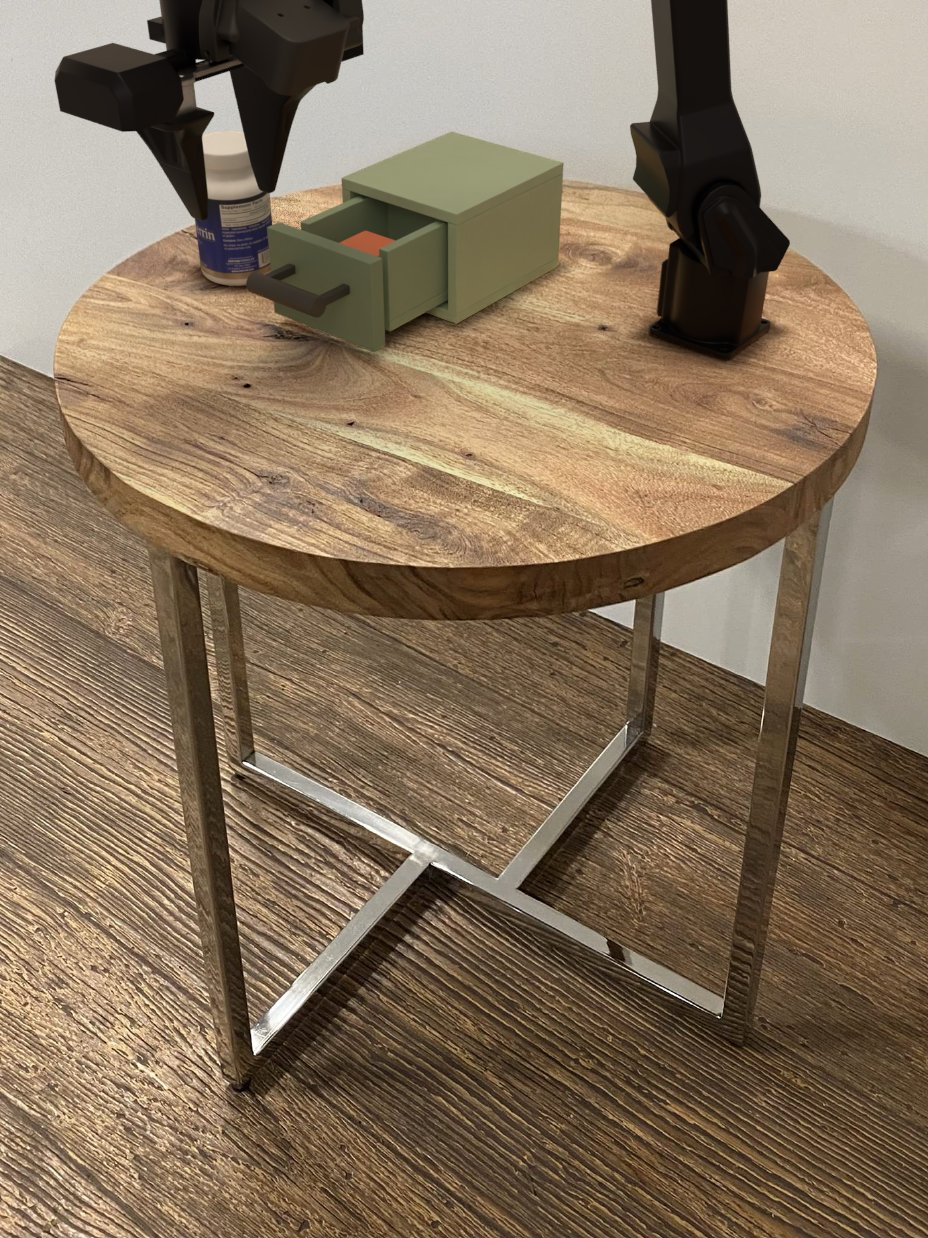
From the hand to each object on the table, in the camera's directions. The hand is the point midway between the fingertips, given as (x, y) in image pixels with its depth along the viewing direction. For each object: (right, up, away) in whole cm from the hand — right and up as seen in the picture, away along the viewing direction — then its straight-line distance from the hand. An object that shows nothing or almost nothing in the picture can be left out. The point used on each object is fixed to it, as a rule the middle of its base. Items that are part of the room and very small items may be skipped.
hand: (234, 204), depth 79 cm
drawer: (+7, -3, +14) cm, 15 cm away
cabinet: (+13, +1, +21) cm, 24 cm away
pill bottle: (-3, +1, +21) cm, 21 cm away
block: (+7, -2, +14) cm, 15 cm away
